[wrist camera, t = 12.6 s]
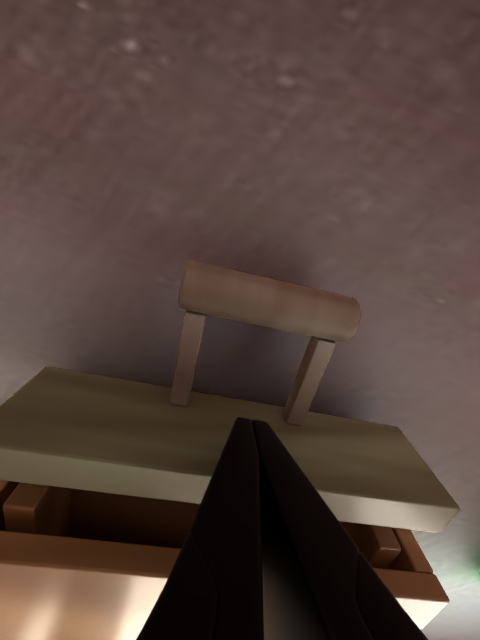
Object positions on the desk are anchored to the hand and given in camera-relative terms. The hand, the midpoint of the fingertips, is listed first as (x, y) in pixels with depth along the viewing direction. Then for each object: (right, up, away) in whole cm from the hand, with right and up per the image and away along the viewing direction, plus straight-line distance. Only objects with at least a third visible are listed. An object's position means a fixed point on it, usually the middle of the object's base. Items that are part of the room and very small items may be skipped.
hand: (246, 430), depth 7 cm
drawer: (-1, -4, +4) cm, 6 cm away
